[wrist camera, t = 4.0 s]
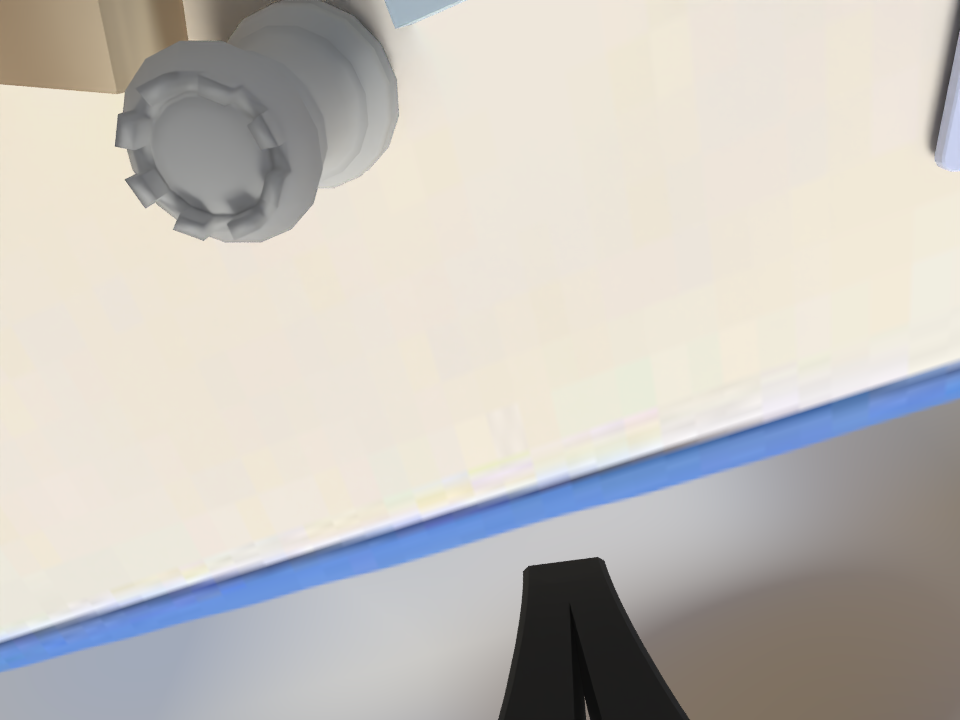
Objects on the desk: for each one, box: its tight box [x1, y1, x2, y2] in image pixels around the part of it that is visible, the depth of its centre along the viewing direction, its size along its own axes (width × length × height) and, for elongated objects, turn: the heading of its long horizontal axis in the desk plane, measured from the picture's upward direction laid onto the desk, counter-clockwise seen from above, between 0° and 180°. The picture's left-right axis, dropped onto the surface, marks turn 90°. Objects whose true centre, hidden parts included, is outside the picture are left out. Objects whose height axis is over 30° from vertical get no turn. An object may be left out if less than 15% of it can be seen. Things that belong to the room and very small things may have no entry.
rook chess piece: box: [115, 0, 399, 242], centre depth 13 cm, size 4×4×8 cm
